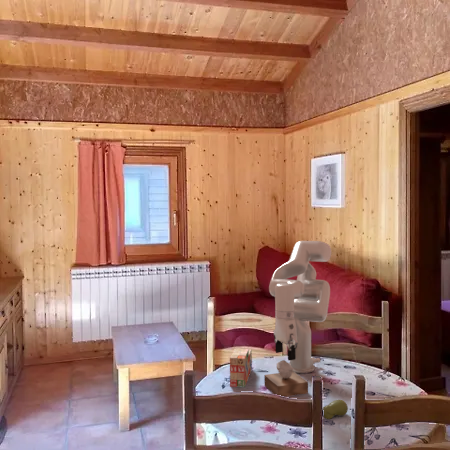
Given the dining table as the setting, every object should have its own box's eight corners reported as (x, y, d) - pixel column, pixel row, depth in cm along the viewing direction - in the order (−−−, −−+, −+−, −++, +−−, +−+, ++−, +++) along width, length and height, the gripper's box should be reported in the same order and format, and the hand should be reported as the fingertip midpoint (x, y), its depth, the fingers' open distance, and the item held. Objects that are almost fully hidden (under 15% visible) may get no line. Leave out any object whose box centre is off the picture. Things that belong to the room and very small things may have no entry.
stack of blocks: (238, 368, 218) (238, 341, 218) (252, 369, 217) (251, 342, 216) (229, 386, 197) (229, 357, 197) (244, 387, 196) (244, 358, 195)
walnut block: (293, 382, 202) (292, 371, 202) (308, 394, 189) (308, 381, 189) (264, 386, 198) (264, 374, 197) (278, 399, 185) (278, 386, 185)
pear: (349, 401, 168) (325, 410, 165) (351, 415, 169) (327, 424, 166) (340, 395, 173) (316, 403, 170) (342, 409, 174) (318, 417, 171)
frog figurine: (281, 374, 198) (281, 357, 198) (296, 377, 193) (296, 360, 193) (273, 378, 193) (273, 361, 193) (288, 382, 189) (288, 364, 188)
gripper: (304, 318, 186) (305, 361, 187) (282, 308, 202) (282, 348, 203) (287, 320, 183) (288, 364, 184) (266, 310, 199) (266, 351, 200)
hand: (285, 355), depth 194 cm, fingers open, 9 cm apart
